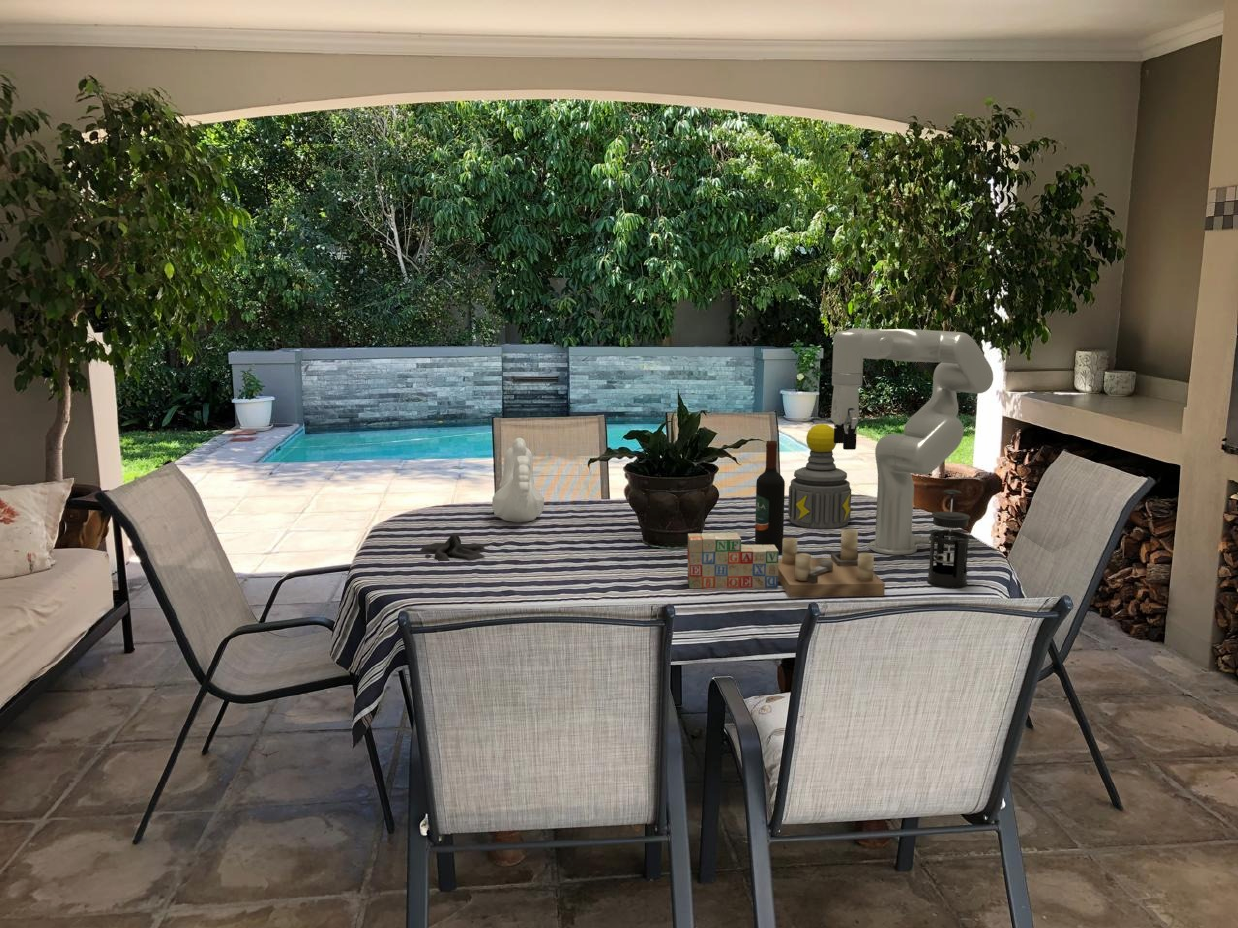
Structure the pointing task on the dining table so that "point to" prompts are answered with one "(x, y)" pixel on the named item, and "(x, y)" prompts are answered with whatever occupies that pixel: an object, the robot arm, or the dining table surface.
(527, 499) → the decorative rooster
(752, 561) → the stack of blocks
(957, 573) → the french press
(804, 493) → the decorative lamp
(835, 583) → the wooden peg board
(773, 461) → the wine bottle
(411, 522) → the dining table surface
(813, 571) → the hinged leg
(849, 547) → the loose leg
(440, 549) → the cloth
